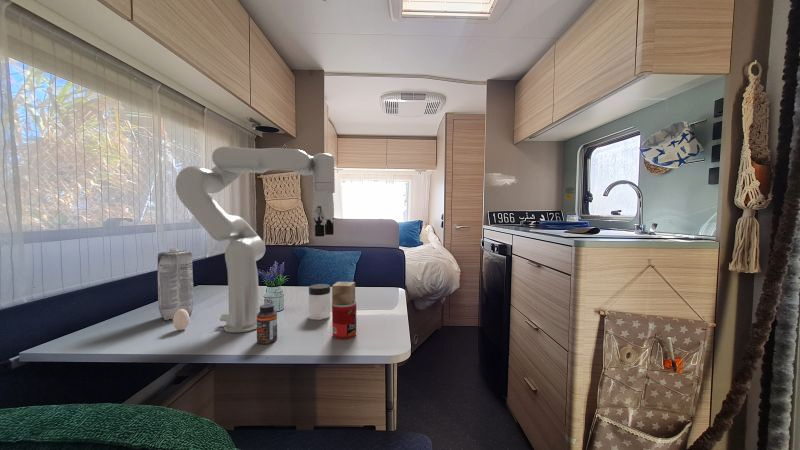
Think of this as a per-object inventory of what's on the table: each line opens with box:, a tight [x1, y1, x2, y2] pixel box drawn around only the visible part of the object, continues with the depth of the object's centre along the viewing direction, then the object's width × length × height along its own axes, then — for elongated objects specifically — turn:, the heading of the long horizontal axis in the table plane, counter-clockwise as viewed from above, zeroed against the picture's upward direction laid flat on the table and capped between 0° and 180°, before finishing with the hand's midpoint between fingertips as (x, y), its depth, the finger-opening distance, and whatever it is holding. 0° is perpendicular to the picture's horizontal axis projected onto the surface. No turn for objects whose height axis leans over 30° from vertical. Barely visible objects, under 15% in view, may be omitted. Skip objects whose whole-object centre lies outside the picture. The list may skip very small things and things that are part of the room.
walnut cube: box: [331, 281, 356, 305], centre depth 99 cm, size 6×6×6 cm
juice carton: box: [156, 247, 194, 321], centre depth 119 cm, size 9×10×27 cm
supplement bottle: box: [256, 303, 278, 345], centre depth 95 cm, size 6×6×11 cm
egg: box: [172, 309, 191, 331], centre depth 104 cm, size 5×5×7 cm
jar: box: [308, 283, 331, 321], centre depth 118 cm, size 9×8×12 cm
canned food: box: [331, 299, 357, 340], centre depth 99 cm, size 8×8×11 cm
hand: (324, 235), depth 109 cm, fingers open, 9 cm apart
